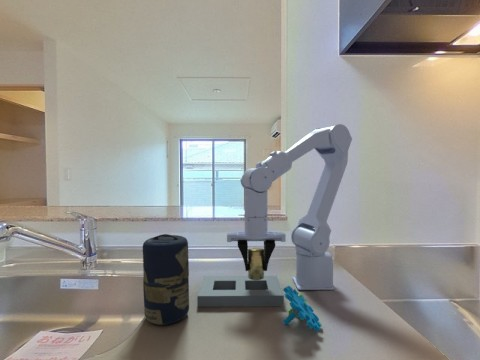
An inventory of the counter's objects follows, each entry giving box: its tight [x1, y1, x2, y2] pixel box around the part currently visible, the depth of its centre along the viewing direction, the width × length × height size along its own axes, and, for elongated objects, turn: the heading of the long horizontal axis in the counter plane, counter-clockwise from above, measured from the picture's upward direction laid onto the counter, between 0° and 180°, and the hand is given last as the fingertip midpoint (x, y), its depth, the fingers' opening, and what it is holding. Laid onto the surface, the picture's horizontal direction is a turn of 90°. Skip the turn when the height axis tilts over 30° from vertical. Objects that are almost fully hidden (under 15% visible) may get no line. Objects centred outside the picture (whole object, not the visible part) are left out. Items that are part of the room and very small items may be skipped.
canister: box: [142, 233, 190, 326], centre depth 60 cm, size 10×10×18 cm
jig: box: [196, 275, 285, 308], centre depth 71 cm, size 20×12×2 cm, turn 90°
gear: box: [282, 285, 322, 332], centre depth 58 cm, size 11×6×10 cm
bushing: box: [247, 247, 265, 280], centre depth 71 cm, size 4×4×7 cm
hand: (256, 269), depth 71 cm, fingers closed on bushing, 4 cm apart
